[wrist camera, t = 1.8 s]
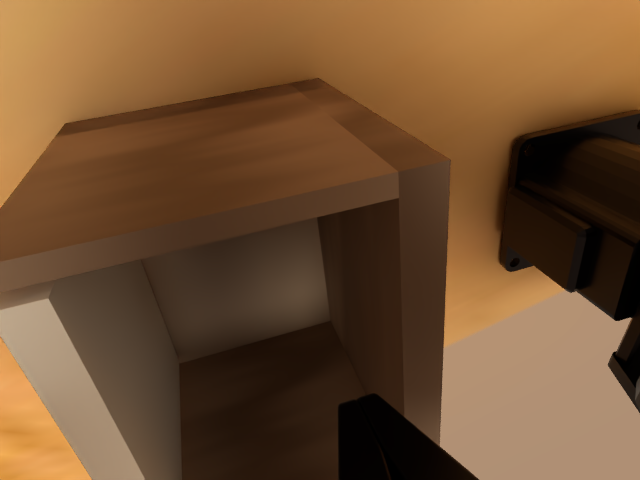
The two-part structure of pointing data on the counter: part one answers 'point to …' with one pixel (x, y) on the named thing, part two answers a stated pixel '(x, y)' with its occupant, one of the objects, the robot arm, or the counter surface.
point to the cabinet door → (101, 368)
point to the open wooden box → (257, 262)
